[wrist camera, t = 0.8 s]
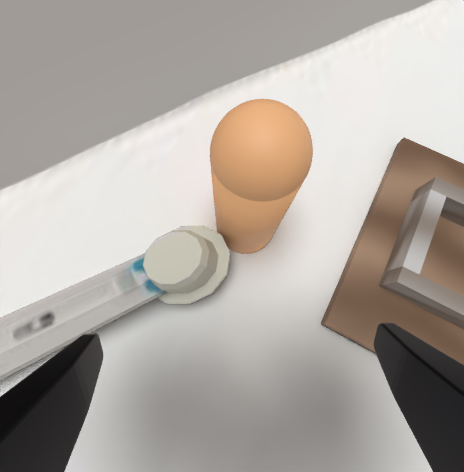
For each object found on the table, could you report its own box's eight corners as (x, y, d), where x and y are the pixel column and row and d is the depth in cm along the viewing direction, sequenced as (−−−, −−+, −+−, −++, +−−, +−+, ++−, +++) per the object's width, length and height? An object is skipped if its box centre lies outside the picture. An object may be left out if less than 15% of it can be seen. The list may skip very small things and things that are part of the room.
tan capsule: (284, 238, 24) (351, 146, 11) (232, 263, 23) (240, 195, 10) (257, 190, 25) (290, 58, 12) (207, 212, 24) (187, 96, 12)
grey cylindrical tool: (-188, 382, 17) (198, 191, 17) (-62, 359, 23) (215, 222, 23) (-181, 479, 15) (237, 271, 16) (-49, 426, 22) (244, 280, 22)
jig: (503, 422, 20) (557, 442, 17) (320, 324, 22) (337, 324, 18) (550, 212, 25) (600, 196, 21) (397, 144, 26) (421, 119, 23)
